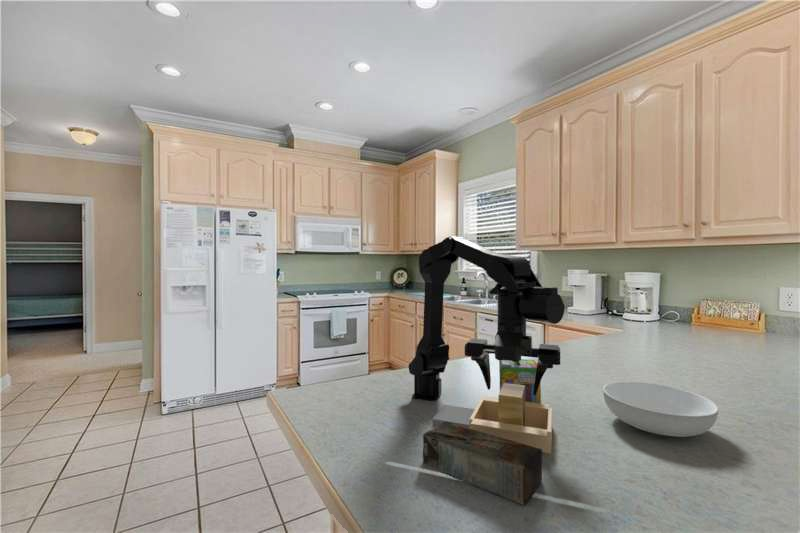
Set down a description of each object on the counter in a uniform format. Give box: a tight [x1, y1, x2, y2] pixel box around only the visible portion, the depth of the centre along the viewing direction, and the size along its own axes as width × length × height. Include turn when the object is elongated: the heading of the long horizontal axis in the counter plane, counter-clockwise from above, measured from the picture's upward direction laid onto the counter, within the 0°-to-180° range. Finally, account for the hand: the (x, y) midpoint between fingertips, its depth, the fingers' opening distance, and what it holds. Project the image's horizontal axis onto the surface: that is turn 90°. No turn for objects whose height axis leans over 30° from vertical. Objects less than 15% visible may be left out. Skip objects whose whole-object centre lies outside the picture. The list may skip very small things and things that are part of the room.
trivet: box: [432, 404, 475, 429], centre depth 86 cm, size 8×9×2 cm
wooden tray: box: [470, 395, 553, 454], centre depth 79 cm, size 15×16×4 cm
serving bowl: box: [602, 380, 719, 438], centre depth 83 cm, size 21×21×7 cm
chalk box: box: [498, 358, 542, 404], centre depth 94 cm, size 9×9×15 cm
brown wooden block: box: [498, 383, 525, 426], centre depth 79 cm, size 8×4×9 cm, turn 157°
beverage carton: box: [422, 421, 543, 506], centre depth 65 cm, size 8×19×7 cm, turn 51°
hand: (511, 391), depth 79 cm, fingers open, 9 cm apart
